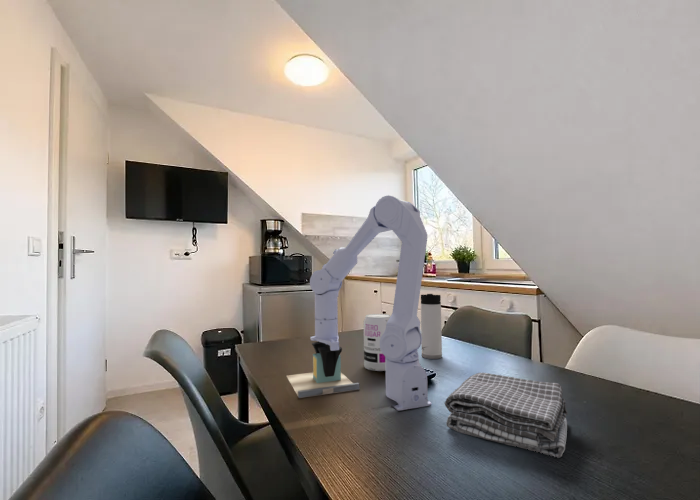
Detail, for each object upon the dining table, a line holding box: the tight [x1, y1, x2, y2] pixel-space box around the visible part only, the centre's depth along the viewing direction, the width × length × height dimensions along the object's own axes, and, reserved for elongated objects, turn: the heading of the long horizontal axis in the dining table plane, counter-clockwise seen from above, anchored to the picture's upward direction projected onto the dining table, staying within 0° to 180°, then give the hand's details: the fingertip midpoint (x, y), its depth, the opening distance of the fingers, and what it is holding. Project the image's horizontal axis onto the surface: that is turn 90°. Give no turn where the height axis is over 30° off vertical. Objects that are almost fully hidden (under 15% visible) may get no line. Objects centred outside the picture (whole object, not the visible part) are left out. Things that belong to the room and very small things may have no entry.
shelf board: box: [286, 371, 361, 399], centre depth 85 cm, size 16×14×2 cm
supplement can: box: [363, 313, 392, 372], centre depth 98 cm, size 8×8×15 cm
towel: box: [444, 372, 569, 459], centre depth 63 cm, size 15×18×8 cm
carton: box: [312, 353, 342, 383], centre depth 87 cm, size 4×6×6 cm, turn 110°
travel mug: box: [420, 293, 443, 360], centre depth 110 cm, size 6×7×20 cm
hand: (326, 373), depth 87 cm, fingers closed on carton, 4 cm apart
